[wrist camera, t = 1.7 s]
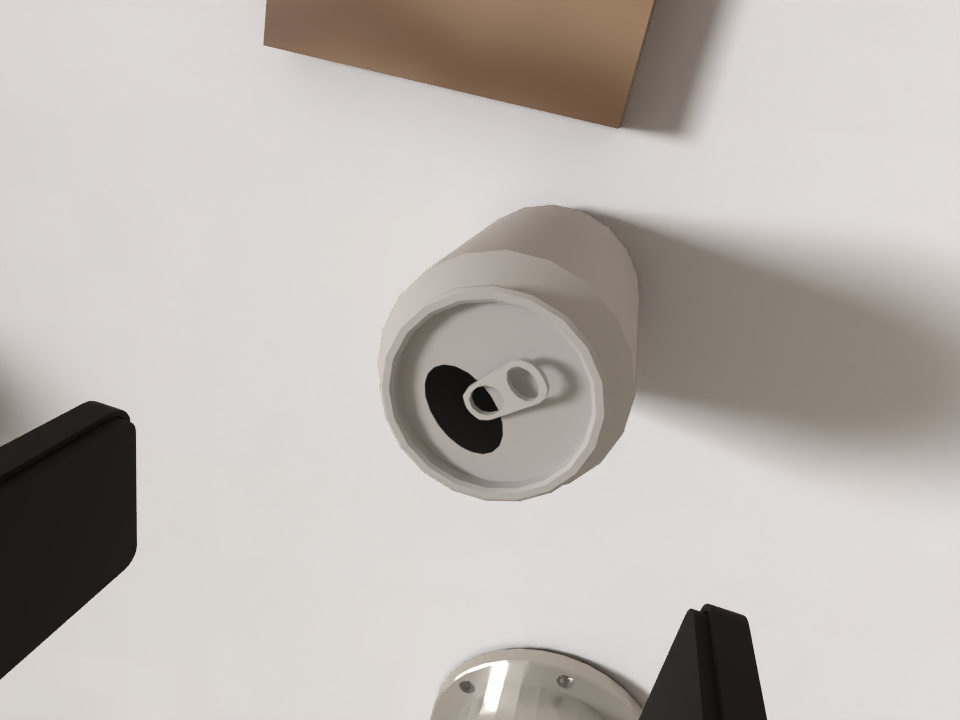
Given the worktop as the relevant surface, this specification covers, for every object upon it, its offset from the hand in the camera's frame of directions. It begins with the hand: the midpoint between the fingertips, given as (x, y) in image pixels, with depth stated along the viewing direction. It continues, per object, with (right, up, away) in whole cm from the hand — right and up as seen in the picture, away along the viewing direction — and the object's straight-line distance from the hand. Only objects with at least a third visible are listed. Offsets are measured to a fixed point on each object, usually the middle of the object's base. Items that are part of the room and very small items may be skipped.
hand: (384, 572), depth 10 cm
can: (+5, +6, +18) cm, 19 cm away
